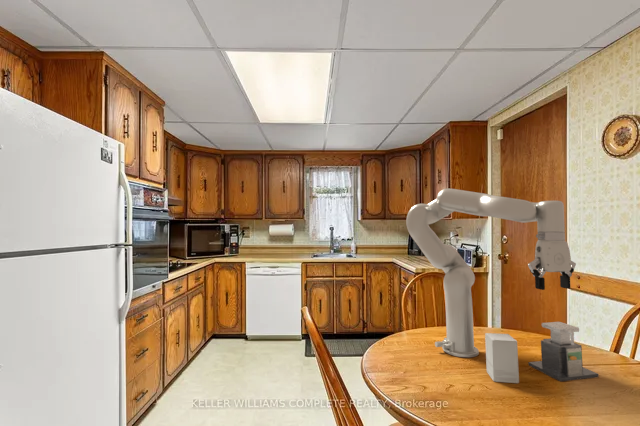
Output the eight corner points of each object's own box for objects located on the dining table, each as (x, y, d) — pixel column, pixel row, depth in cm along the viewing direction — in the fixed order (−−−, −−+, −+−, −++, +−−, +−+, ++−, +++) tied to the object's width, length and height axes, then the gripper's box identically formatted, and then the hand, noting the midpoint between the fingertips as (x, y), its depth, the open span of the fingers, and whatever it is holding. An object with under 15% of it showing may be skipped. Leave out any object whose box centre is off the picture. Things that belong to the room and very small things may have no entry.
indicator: (572, 360, 100) (572, 357, 100) (569, 359, 101) (569, 356, 101) (576, 359, 100) (576, 357, 100) (574, 358, 101) (574, 356, 101)
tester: (560, 381, 99) (558, 351, 99) (528, 365, 111) (527, 338, 111) (598, 377, 101) (597, 347, 102) (563, 361, 113) (562, 335, 114)
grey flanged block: (568, 362, 100) (567, 331, 100) (542, 350, 109) (541, 323, 110) (587, 360, 101) (586, 330, 102) (560, 349, 110) (559, 321, 111)
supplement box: (519, 383, 98) (518, 341, 99) (493, 381, 99) (491, 339, 100) (510, 373, 105) (509, 333, 106) (485, 371, 107) (484, 332, 107)
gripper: (537, 238, 104) (539, 291, 104) (583, 237, 107) (585, 289, 107) (519, 237, 112) (521, 287, 111) (563, 236, 115) (565, 285, 114)
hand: (552, 288), depth 109 cm, fingers open, 9 cm apart
